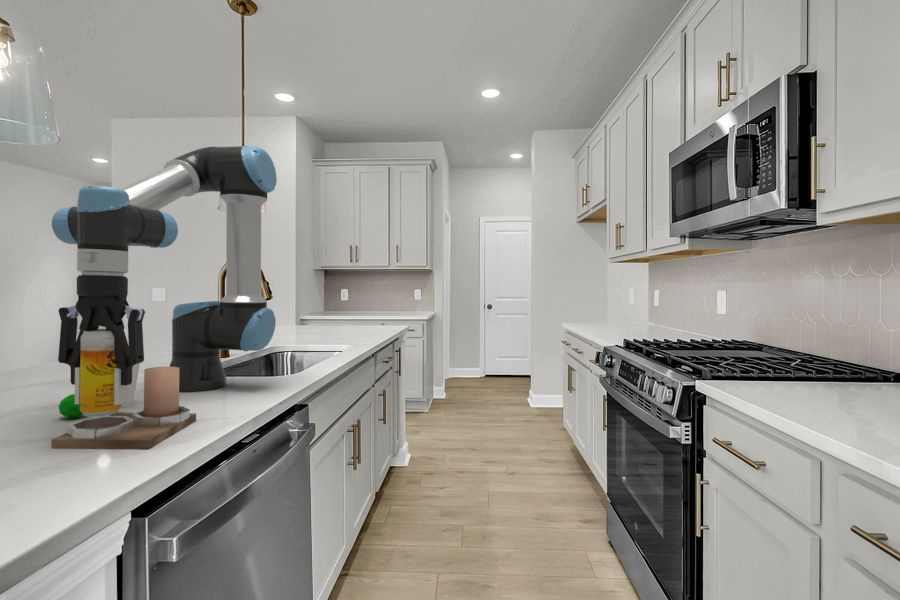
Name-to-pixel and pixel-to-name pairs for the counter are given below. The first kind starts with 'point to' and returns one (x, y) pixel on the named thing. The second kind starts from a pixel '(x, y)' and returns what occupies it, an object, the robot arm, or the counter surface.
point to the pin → (161, 391)
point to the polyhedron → (70, 407)
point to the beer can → (97, 373)
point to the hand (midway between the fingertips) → (101, 402)
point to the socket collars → (121, 424)
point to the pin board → (125, 436)
